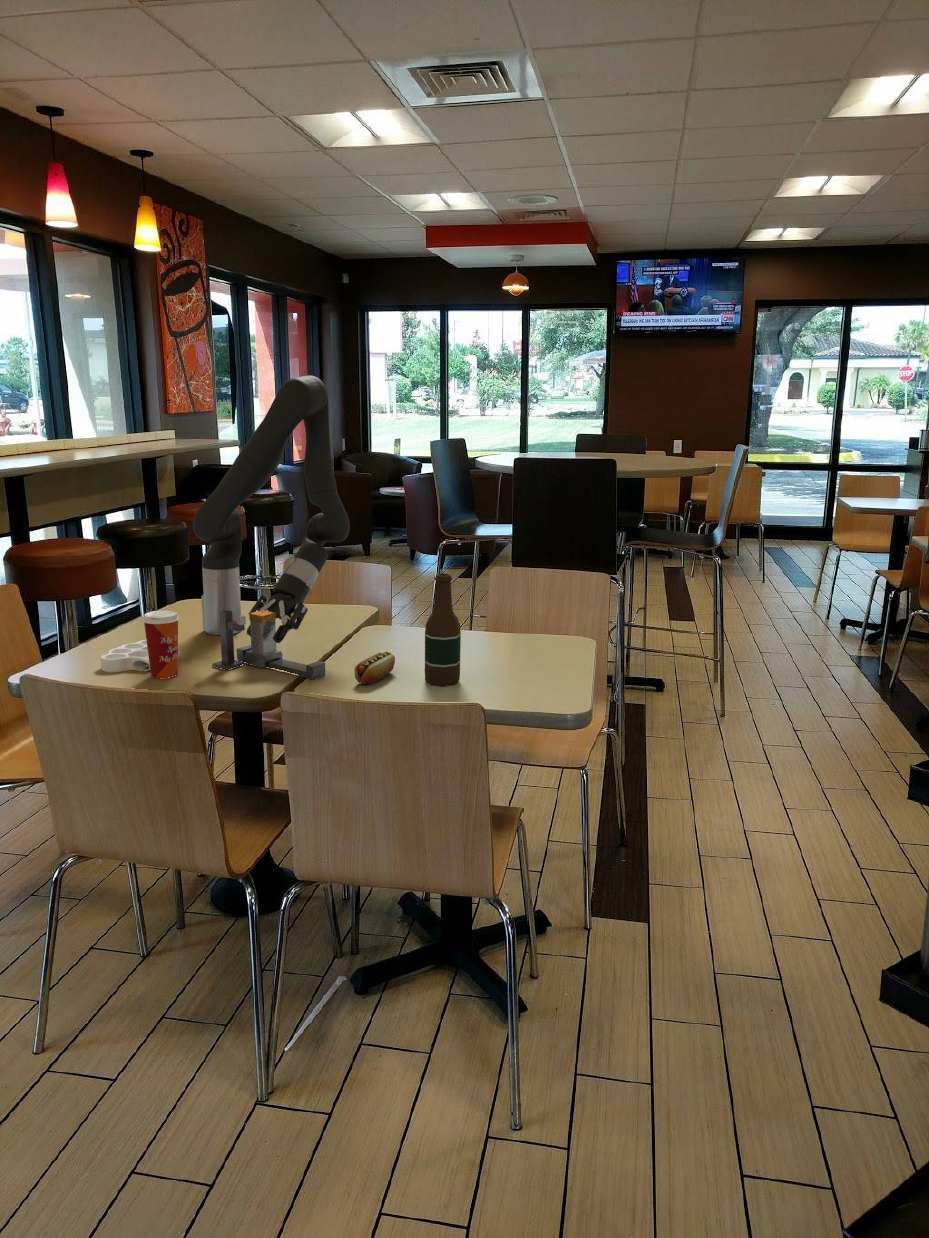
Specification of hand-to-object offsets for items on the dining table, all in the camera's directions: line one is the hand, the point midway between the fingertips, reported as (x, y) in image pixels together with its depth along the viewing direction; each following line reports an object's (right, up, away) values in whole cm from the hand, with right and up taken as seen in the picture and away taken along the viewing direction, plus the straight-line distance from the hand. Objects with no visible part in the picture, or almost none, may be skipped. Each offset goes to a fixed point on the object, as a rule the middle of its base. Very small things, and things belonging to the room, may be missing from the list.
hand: (262, 638), depth 211 cm
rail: (+4, -7, -1) cm, 8 cm away
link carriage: (0, -6, +2) cm, 6 cm away
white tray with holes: (-29, -6, +2) cm, 30 cm away
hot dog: (+27, -9, -7) cm, 29 cm away
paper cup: (-20, -8, -7) cm, 23 cm away
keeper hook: (-7, -7, -1) cm, 9 cm away
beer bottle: (+41, -10, -9) cm, 44 cm away
